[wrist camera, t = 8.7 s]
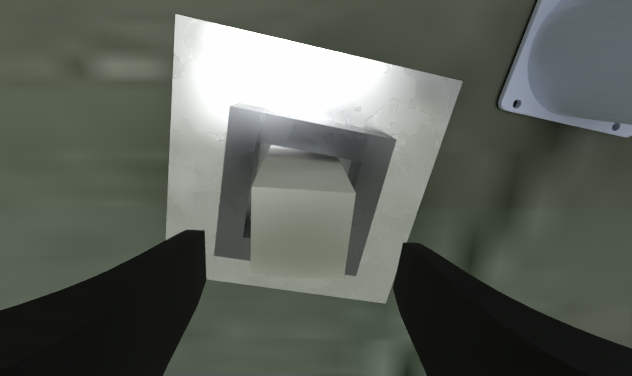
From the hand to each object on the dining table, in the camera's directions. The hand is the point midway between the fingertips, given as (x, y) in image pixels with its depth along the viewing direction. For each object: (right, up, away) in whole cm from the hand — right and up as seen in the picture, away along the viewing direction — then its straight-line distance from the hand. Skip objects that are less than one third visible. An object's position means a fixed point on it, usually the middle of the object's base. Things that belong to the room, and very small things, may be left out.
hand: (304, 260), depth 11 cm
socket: (-1, +3, +9) cm, 9 cm away
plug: (-1, +3, +8) cm, 8 cm away
